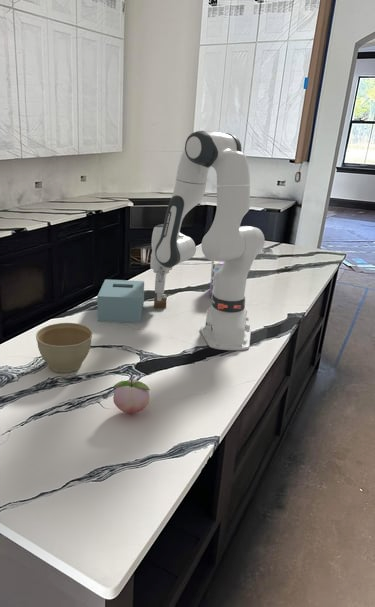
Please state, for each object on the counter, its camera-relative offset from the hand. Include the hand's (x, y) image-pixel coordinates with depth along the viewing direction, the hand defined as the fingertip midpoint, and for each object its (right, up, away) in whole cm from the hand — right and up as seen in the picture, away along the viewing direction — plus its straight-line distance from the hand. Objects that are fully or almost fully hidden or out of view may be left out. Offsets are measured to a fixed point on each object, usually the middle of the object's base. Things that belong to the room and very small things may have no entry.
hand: (159, 295), depth 187 cm
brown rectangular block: (0, -5, +1) cm, 5 cm away
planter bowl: (-26, -22, -49) cm, 59 cm away
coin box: (-15, -6, -6) cm, 17 cm away
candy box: (+25, +1, +20) cm, 31 cm away
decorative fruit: (-3, -32, -69) cm, 76 cm away
